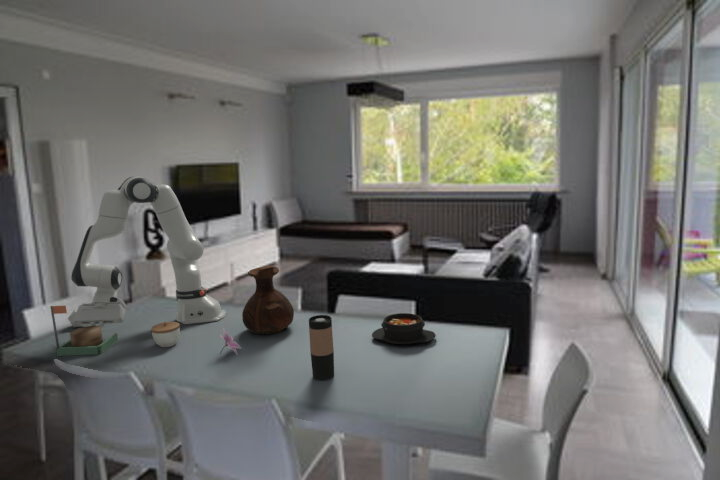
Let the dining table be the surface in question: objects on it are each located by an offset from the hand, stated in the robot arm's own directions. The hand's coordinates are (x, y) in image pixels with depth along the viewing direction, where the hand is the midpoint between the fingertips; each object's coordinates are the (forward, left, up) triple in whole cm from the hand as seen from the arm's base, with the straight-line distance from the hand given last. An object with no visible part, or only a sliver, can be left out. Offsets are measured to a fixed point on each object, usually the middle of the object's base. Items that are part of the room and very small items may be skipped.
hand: (94, 332), depth 209 cm
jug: (-71, -7, -5) cm, 71 cm away
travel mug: (-98, +40, -5) cm, 106 cm away
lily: (-61, +17, -5) cm, 63 cm away
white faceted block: (+19, -23, -5) cm, 30 cm away
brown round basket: (0, +6, -4) cm, 8 cm away
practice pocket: (0, +5, -4) cm, 7 cm away
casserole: (-127, +10, -5) cm, 128 cm away
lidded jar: (-32, +5, -5) cm, 33 cm away
